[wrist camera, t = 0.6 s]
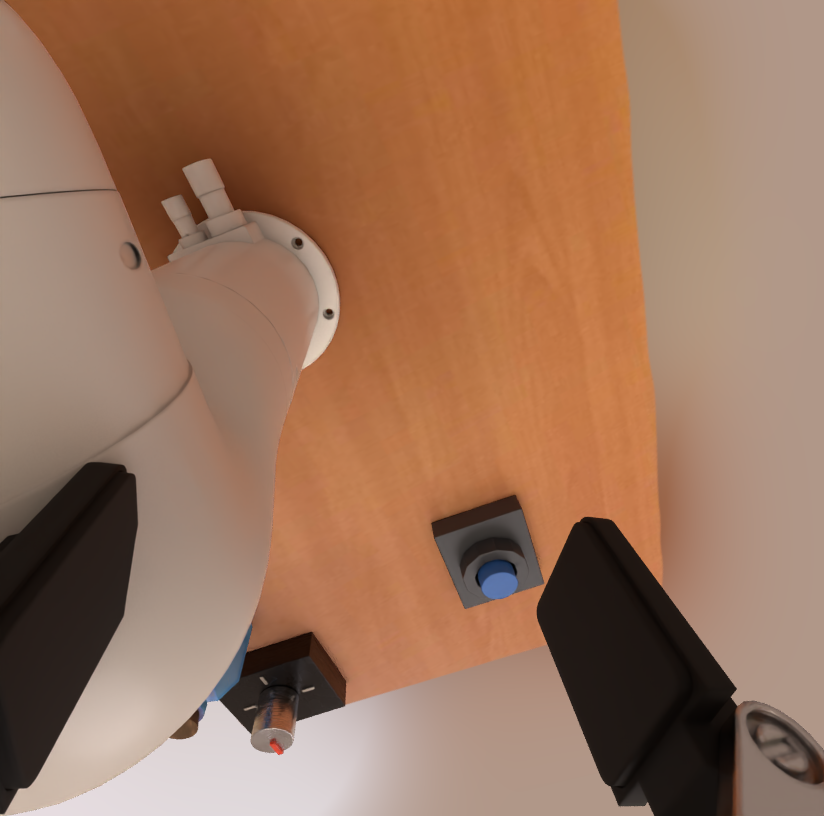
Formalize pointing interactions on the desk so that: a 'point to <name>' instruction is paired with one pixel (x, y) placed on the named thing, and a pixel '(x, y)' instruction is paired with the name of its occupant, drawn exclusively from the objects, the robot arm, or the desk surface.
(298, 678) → the panel
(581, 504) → the desk surface
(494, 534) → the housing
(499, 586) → the button
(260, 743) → the knob
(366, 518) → the desk surface
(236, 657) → the perfume bottle
